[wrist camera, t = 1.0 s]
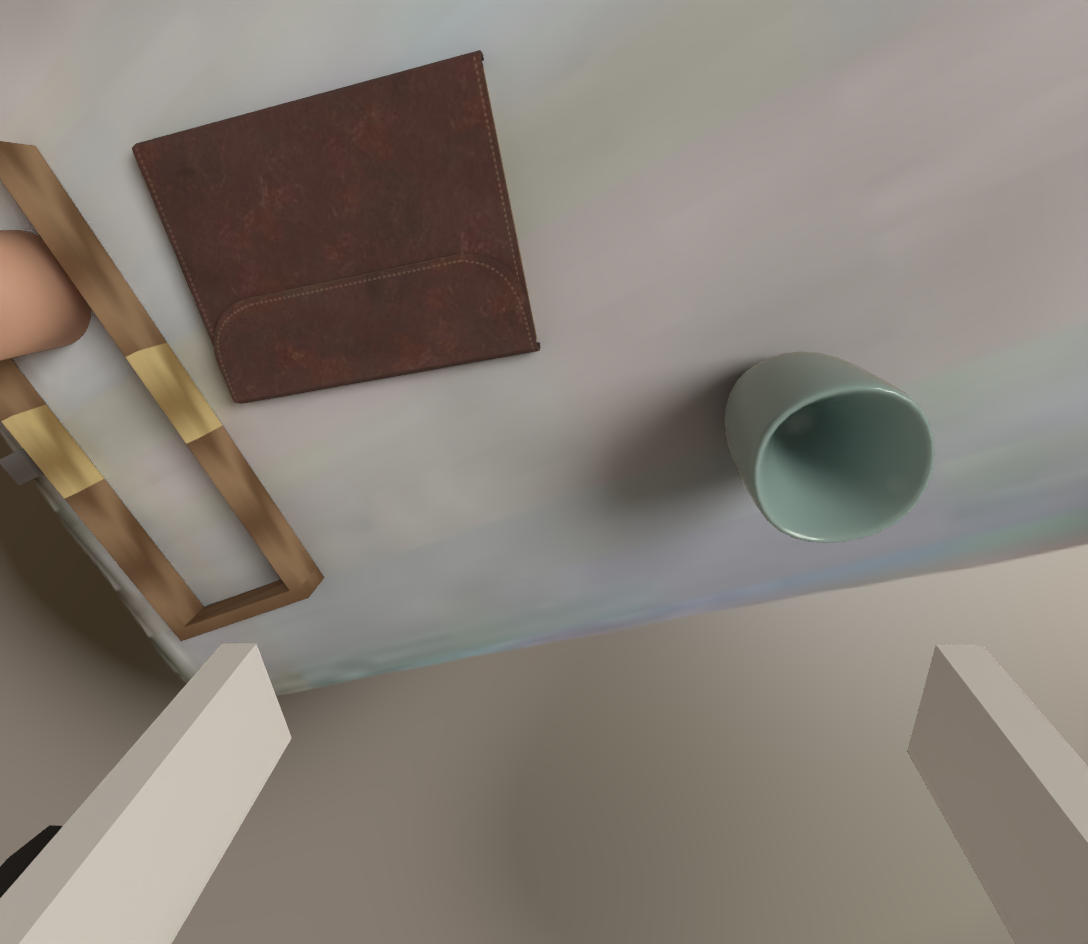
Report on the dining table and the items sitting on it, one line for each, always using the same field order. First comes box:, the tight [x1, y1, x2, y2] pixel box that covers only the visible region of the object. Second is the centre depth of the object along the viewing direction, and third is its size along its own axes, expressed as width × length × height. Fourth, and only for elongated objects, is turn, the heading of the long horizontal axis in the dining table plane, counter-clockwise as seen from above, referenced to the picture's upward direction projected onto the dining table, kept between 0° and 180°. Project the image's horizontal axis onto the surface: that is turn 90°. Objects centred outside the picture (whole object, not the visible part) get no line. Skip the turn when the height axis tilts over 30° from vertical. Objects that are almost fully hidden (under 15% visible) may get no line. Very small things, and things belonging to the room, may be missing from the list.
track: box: [0, 141, 324, 641], centre depth 38 cm, size 31×14×2 cm, turn 23°
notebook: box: [132, 50, 540, 403], centre depth 32 cm, size 15×20×2 cm
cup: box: [725, 352, 935, 543], centre depth 29 cm, size 8×8×10 cm
